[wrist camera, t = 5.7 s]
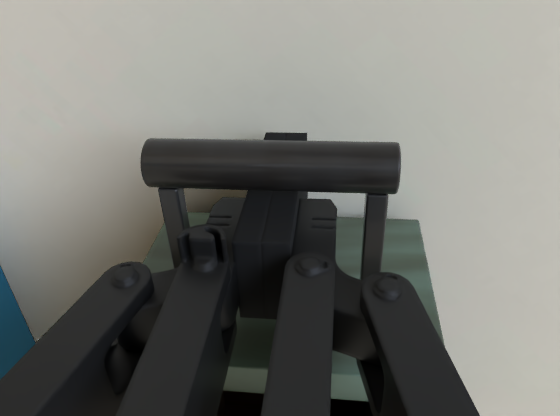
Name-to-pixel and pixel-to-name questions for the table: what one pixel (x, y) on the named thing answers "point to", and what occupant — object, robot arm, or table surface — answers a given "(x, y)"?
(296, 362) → the robot arm
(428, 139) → the table surface
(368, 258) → the drawer
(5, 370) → the camera mount
